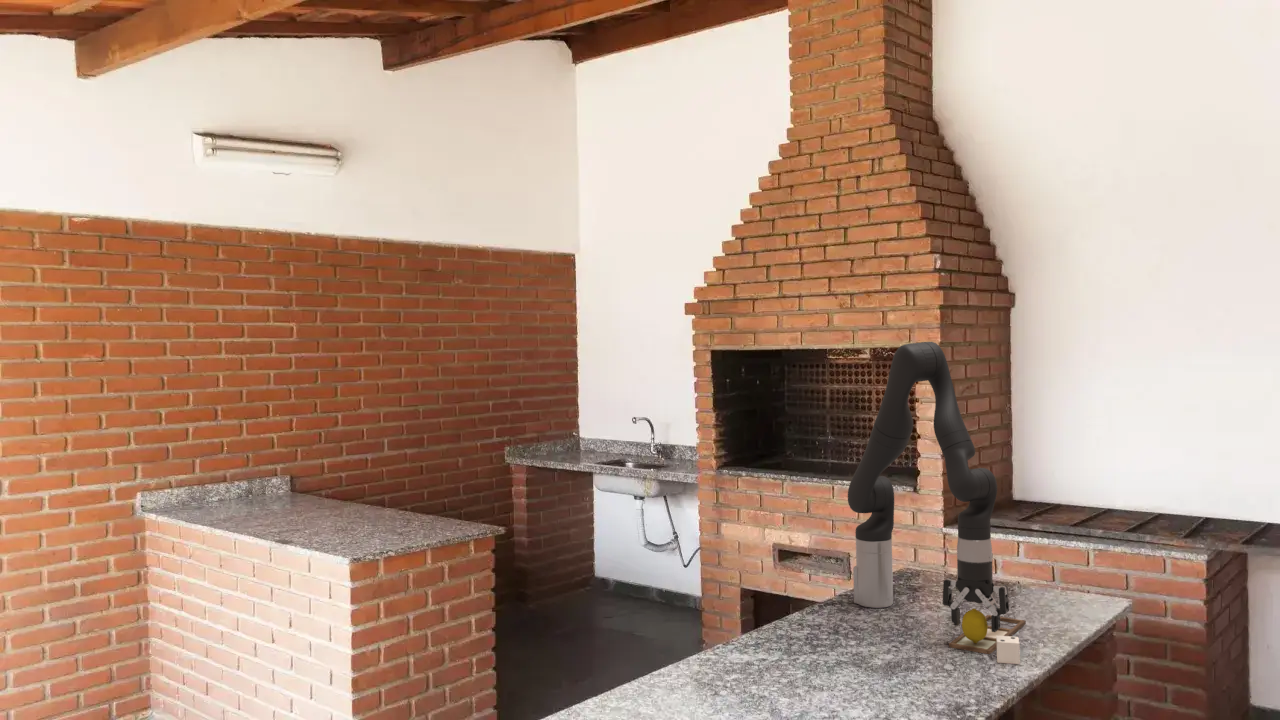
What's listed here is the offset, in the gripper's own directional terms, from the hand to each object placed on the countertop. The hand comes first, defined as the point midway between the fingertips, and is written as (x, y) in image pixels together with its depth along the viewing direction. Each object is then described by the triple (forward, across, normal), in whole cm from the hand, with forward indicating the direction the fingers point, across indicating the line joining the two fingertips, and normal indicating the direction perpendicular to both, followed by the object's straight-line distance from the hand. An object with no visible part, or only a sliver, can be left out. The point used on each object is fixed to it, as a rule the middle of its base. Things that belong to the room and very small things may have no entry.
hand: (975, 628), depth 224 cm
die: (+4, +9, -6) cm, 12 cm away
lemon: (+4, 0, 0) cm, 4 cm away
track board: (+4, 0, +8) cm, 9 cm away
